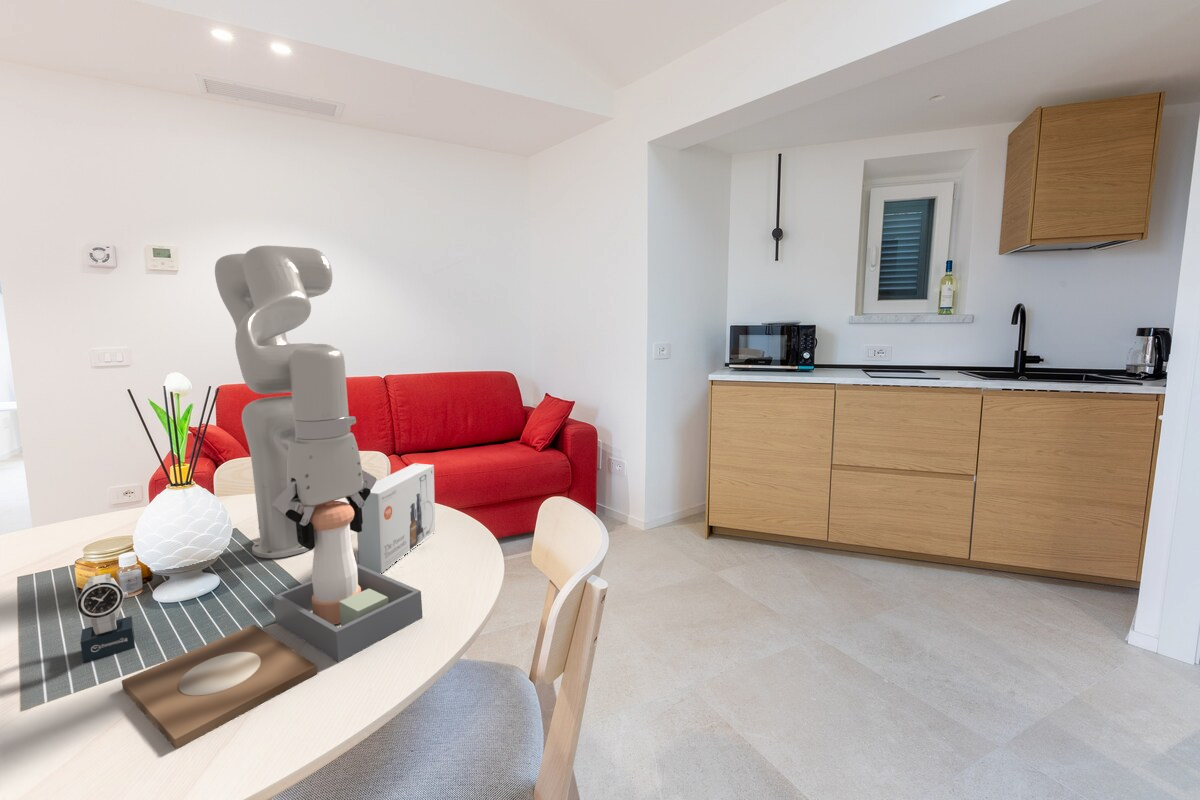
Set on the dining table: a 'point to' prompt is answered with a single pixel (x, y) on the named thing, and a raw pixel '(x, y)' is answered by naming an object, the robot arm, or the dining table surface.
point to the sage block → (360, 605)
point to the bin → (357, 633)
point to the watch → (104, 619)
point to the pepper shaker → (332, 559)
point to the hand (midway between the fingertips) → (331, 537)
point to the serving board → (216, 683)
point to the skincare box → (396, 516)
